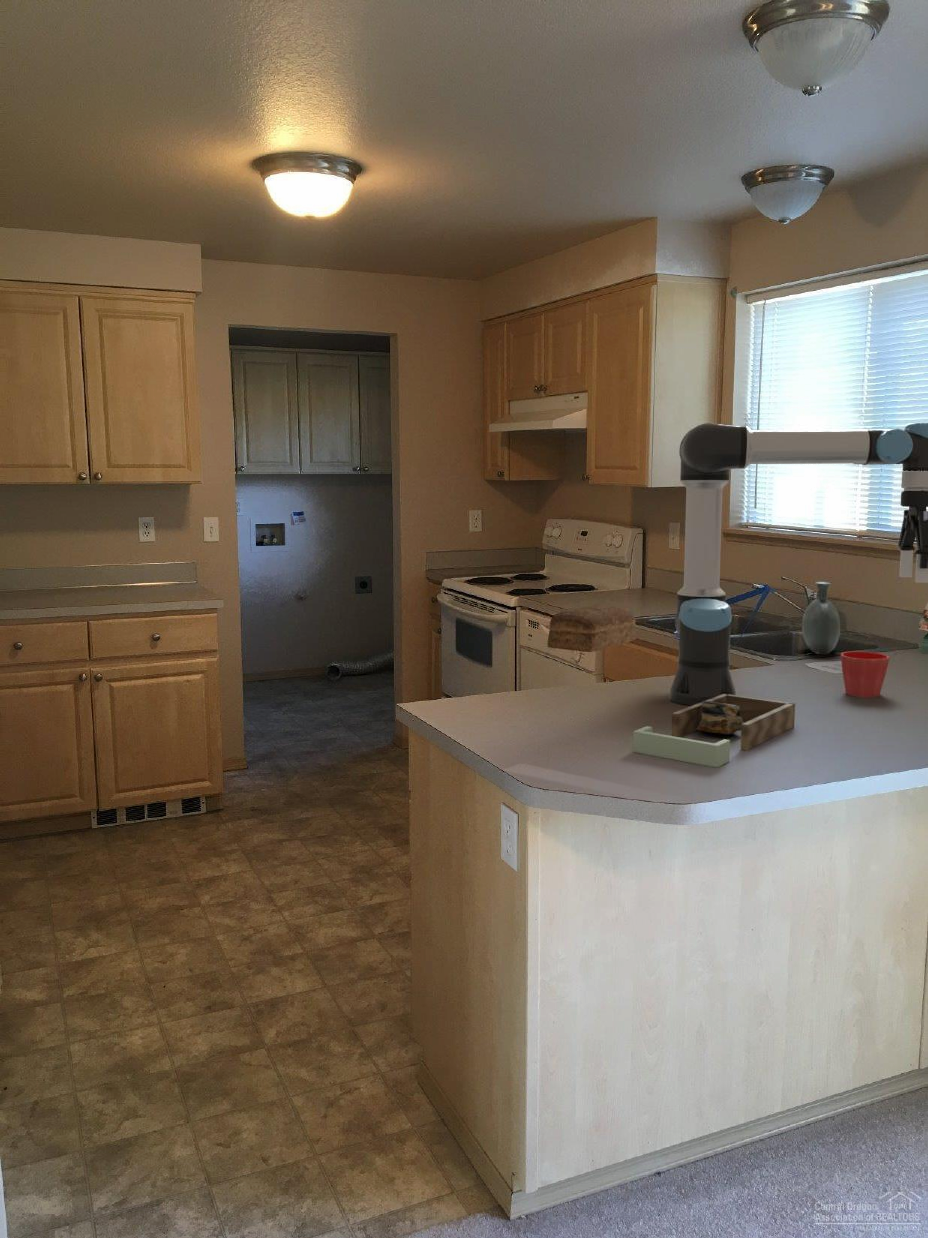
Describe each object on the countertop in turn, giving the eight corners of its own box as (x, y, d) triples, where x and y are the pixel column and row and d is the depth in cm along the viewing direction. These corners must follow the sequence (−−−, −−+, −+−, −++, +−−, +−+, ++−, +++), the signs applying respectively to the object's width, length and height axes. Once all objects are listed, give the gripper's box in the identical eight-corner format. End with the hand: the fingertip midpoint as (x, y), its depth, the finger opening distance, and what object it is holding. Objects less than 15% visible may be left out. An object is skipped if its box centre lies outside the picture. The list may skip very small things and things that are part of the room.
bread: (640, 644, 322) (641, 603, 320) (590, 656, 298) (590, 612, 297) (594, 639, 333) (594, 599, 331) (542, 651, 309) (542, 608, 307)
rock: (696, 732, 203) (698, 704, 202) (701, 725, 211) (703, 698, 211) (741, 737, 200) (743, 709, 199) (744, 730, 209) (746, 703, 208)
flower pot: (891, 699, 238) (893, 659, 237) (842, 697, 241) (844, 657, 239) (882, 690, 249) (884, 652, 247) (835, 689, 251) (837, 650, 250)
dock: (717, 767, 181) (717, 745, 181) (632, 751, 192) (633, 731, 192) (729, 761, 185) (730, 740, 185) (646, 746, 196) (646, 726, 196)
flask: (846, 653, 304) (849, 580, 301) (833, 661, 289) (836, 585, 286) (806, 649, 310) (809, 578, 307) (792, 657, 296) (795, 583, 293)
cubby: (746, 750, 193) (747, 725, 192) (671, 737, 203) (672, 713, 202) (794, 726, 212) (795, 703, 211) (723, 716, 222) (724, 693, 221)
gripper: (952, 490, 224) (946, 585, 227) (920, 489, 248) (915, 575, 251) (916, 490, 225) (911, 584, 228) (888, 489, 249) (883, 574, 252)
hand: (913, 580), depth 240 cm, fingers open, 13 cm apart
